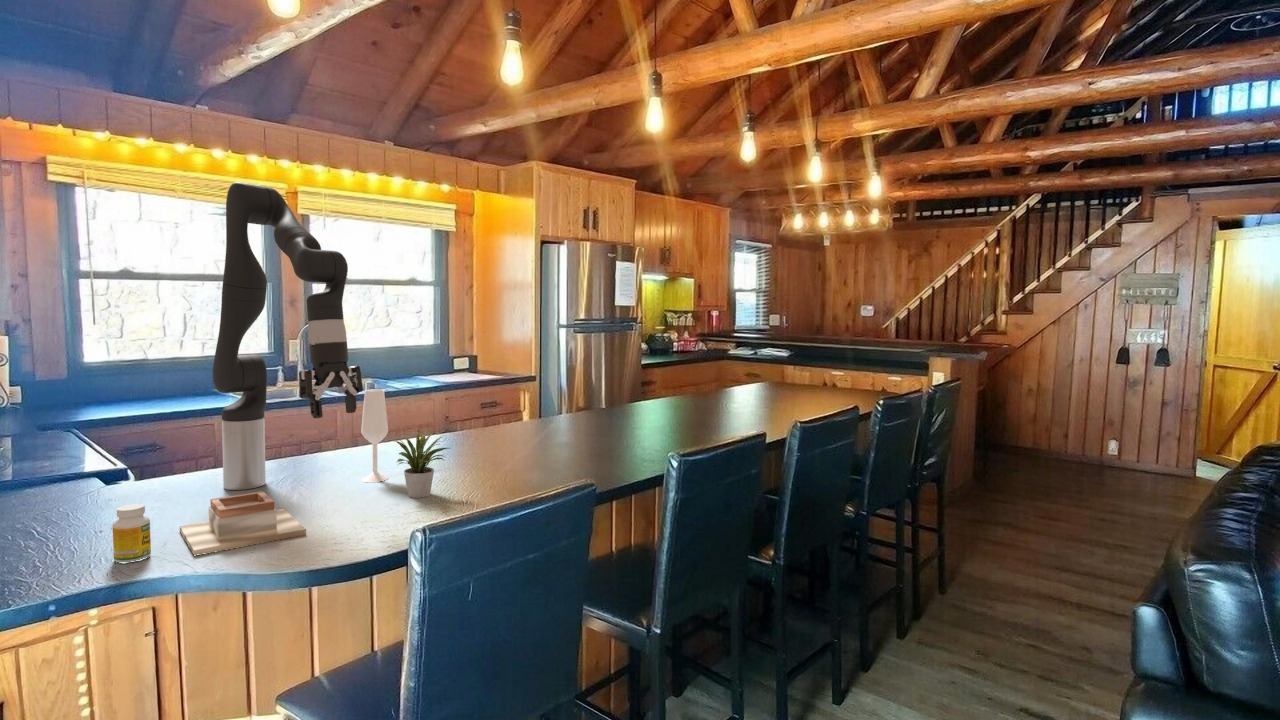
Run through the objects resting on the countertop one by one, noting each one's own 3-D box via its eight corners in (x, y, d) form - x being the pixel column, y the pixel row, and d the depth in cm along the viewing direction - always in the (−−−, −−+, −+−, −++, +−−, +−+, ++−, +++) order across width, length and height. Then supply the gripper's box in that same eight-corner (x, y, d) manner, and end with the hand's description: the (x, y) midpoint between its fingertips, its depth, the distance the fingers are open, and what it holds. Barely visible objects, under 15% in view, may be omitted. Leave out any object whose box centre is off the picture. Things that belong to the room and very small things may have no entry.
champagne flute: (379, 474, 181) (378, 388, 180) (393, 478, 177) (393, 390, 176) (356, 479, 176) (355, 390, 174) (370, 483, 172) (370, 392, 170)
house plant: (411, 508, 152) (411, 438, 151) (373, 498, 159) (372, 431, 158) (458, 494, 164) (458, 429, 163) (421, 485, 171) (421, 423, 170)
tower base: (179, 531, 133) (178, 498, 133) (283, 514, 146) (283, 483, 146) (193, 556, 121) (192, 520, 120) (306, 534, 133) (305, 501, 133)
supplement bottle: (118, 555, 120) (116, 504, 120) (154, 551, 123) (152, 501, 122) (110, 566, 116) (107, 512, 115) (147, 561, 118) (145, 509, 117)
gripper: (343, 341, 152) (349, 411, 152) (286, 343, 139) (293, 420, 139) (366, 339, 149) (373, 410, 149) (310, 341, 136) (318, 419, 136)
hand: (334, 415), depth 144 cm, fingers open, 8 cm apart
